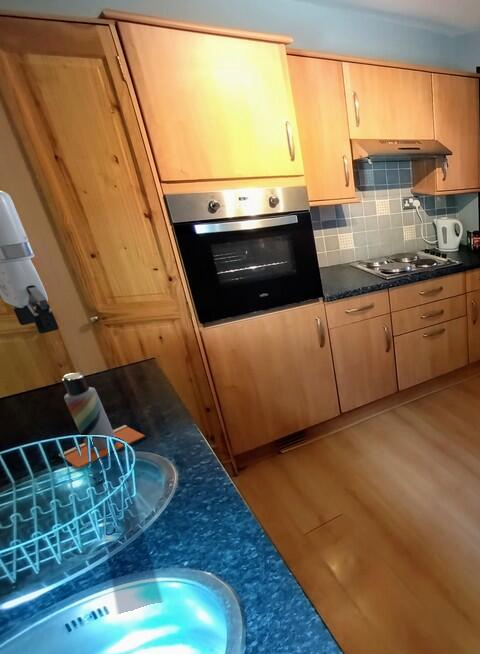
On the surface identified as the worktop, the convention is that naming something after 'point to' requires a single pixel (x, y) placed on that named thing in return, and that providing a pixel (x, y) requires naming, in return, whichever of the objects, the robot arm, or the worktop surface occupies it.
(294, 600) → the worktop surface
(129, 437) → the orange flat block
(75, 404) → the lotion bottle
